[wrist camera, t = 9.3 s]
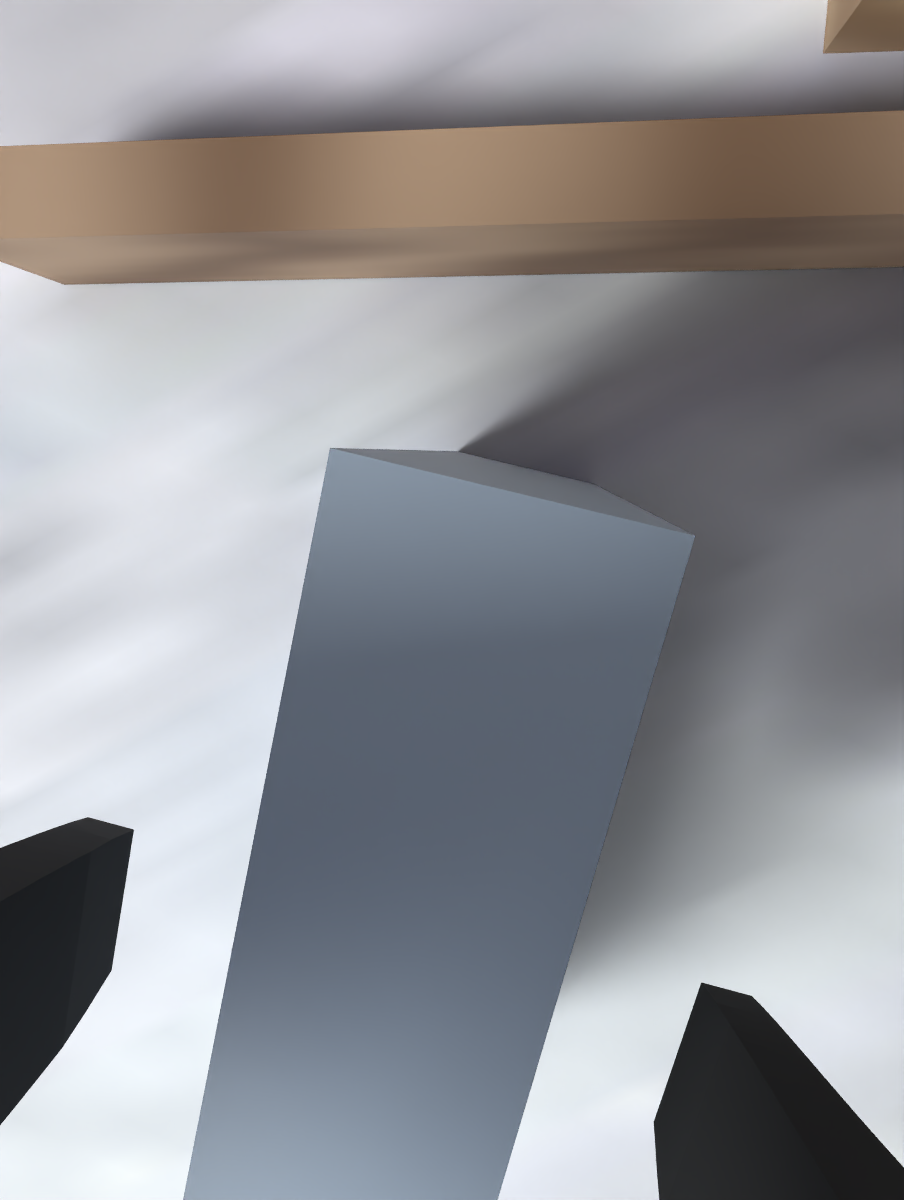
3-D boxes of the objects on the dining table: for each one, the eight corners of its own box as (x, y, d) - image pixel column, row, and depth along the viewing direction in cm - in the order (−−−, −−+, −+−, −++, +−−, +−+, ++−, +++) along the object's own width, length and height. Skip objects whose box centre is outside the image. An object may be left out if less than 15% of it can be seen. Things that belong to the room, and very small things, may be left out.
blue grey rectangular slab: (328, 1013, 16) (94, 1654, 8) (458, 451, 14) (330, 447, 5) (443, 1045, 16) (337, 1737, 8) (593, 483, 14) (695, 536, 5)
